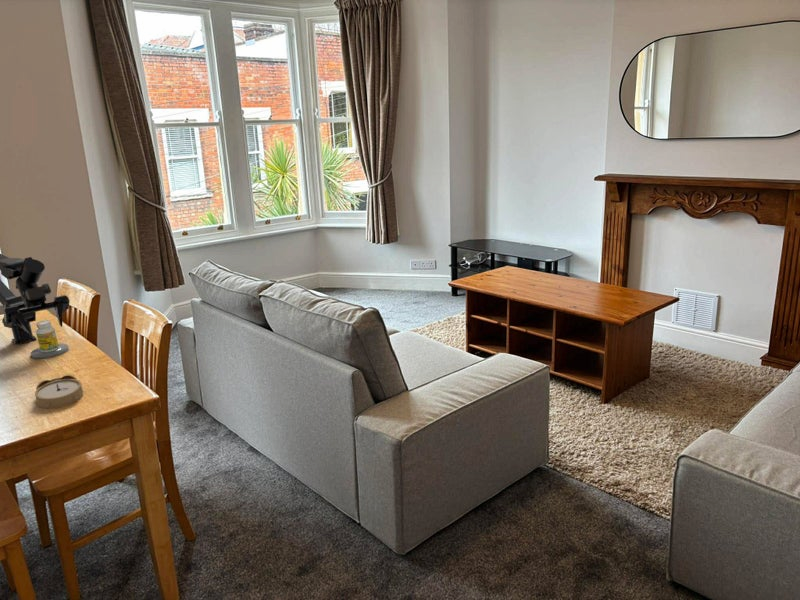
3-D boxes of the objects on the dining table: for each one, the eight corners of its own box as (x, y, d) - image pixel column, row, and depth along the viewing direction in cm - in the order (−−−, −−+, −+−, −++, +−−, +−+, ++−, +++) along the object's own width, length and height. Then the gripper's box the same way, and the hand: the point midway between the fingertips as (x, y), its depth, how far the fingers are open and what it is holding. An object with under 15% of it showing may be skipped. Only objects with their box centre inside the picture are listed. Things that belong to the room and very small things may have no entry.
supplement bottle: (61, 346, 204) (55, 319, 201) (55, 352, 199) (48, 324, 196) (44, 347, 203) (38, 320, 200) (37, 353, 198) (31, 325, 195)
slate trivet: (27, 353, 202) (26, 350, 202) (63, 343, 209) (62, 341, 209) (36, 361, 194) (35, 358, 194) (73, 351, 201) (72, 348, 201)
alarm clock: (36, 404, 158) (30, 376, 169) (40, 419, 160) (34, 391, 171) (84, 391, 164) (75, 365, 175) (87, 406, 166) (78, 380, 177)
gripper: (-3, 283, 191) (13, 324, 186) (61, 271, 203) (78, 309, 198) (-3, 303, 198) (13, 342, 194) (59, 290, 210) (76, 327, 206)
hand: (46, 329), depth 198 cm, fingers open, 9 cm apart
